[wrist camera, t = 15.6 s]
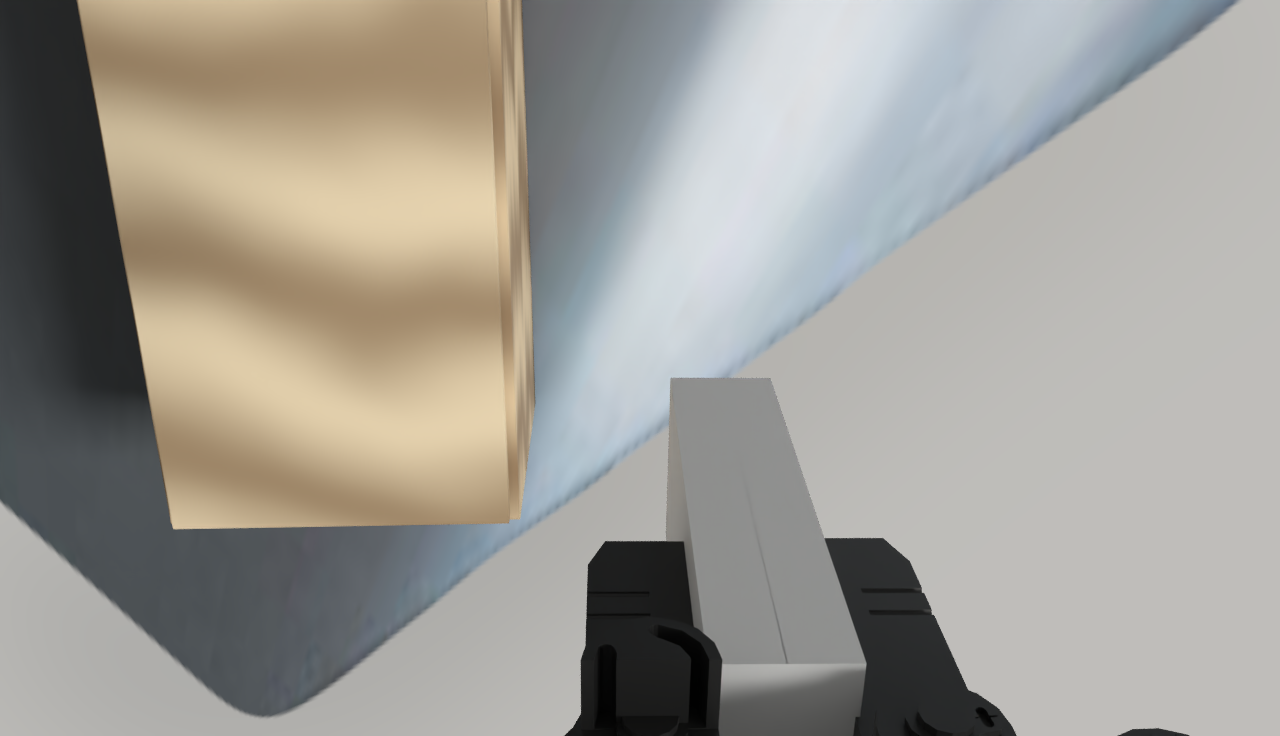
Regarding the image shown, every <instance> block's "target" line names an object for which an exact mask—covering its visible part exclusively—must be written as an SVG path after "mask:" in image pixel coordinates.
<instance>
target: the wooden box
mask: <svg viewBox="0 0 1280 736" xmlns="http://www.w3.org/2000/svg"><path fill="white" fill-rule="evenodd" d="M77 5H78V11H79V16H80V22H81V27H82V33H83V38H84V44H85V49H86V55H87V60H88V66H89V71H90V77H91V82H92V88H93V94H94V99H95V105H96V110H97V116H98V121H99V127H100V132H101V138H102V143H103V149H104V154H105V160H106V166H107V171H108V177H109V182H110V188H111V193H112V199H113V204H114V210H115V215H116V221H117V226H118V220H117V214H116V209H115V203H114V198H113V192H112V187H111V181H110V176H109V170H108V165H107V159H106V153H105V148H104V142H103V137H102V131H101V126H100V120H99V115H98V109H97V103H96V98H95V92H94V87H93V81H92V76H91V70H90V65H89V59H88V54H87V48H86V42H85V37H84V31H83V26H82V20H81V15H80V9H79V4H78V0H77ZM487 9H488V31H489V54H490V76H491V98H492V121H493V143H494V165H495V188H496V210H497V232H498V255H499V277H500V299H501V322H502V344H503V367H504V389H505V411H506V434H507V456H508V478H509V501H510V519H520V515H521V507H522V500H523V492H524V484H525V477H526V469H527V462H528V454H529V446H530V439H531V431H532V424H533V416H534V408H535V382H534V352H533V322H532V291H531V261H530V231H529V201H528V171H527V141H526V111H525V81H524V51H523V21H522V0H487ZM118 232H119V237H120V231H119V226H118ZM120 243H121V249H122V254H123V260H124V265H125V271H126V276H127V282H128V287H129V281H128V275H127V270H126V264H125V259H124V253H123V248H122V242H121V237H120ZM129 293H130V298H131V292H130V287H129ZM131 304H132V309H133V303H132V298H131ZM133 315H134V320H135V314H134V309H133ZM135 326H136V332H137V337H138V343H139V348H140V342H139V336H138V331H137V325H136V320H135ZM140 354H141V359H142V353H141V348H140ZM142 365H143V370H144V364H143V359H142ZM144 376H145V381H146V375H145V370H144ZM146 387H147V392H148V386H147V381H146ZM148 398H149V403H150V397H149V392H148ZM150 409H151V403H150ZM151 415H152V420H153V414H152V409H151ZM153 426H154V431H155V425H154V420H153ZM155 437H156V442H157V436H156V431H155ZM157 448H158V453H159V447H158V442H157ZM159 459H160V453H159ZM160 464H161V459H160ZM161 470H162V464H161ZM162 475H163V470H162ZM163 481H164V475H163ZM164 487H165V492H166V486H165V481H164ZM166 498H167V503H168V497H167V492H166ZM168 509H169V514H170V508H169V503H168ZM170 520H171V514H170ZM171 524H172V520H171Z"/></svg>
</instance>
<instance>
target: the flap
mask: <svg viewBox="0 0 1280 736" xmlns="http://www.w3.org/2000/svg"><path fill="white" fill-rule="evenodd" d="M78 4H79V9H80V15H81V20H82V26H83V31H84V37H85V42H86V48H87V54H88V59H89V65H90V70H91V76H92V81H93V87H94V92H95V98H96V103H97V109H98V115H99V120H100V126H101V131H102V137H103V142H104V148H105V153H106V159H107V165H108V170H109V176H110V181H111V187H112V192H113V198H114V203H115V209H116V214H117V220H118V226H119V231H120V237H121V242H122V248H123V253H124V259H125V264H126V270H127V275H128V281H129V287H130V292H131V298H132V303H133V309H134V314H135V320H136V325H137V331H138V336H139V342H140V348H141V353H142V359H143V364H144V370H145V375H146V381H147V386H148V392H149V397H150V403H151V409H152V414H153V420H154V425H155V431H156V436H157V442H158V447H159V453H160V459H161V464H162V470H163V475H164V481H165V486H166V492H167V497H168V503H169V508H170V514H171V520H172V525H173V529H210V528H267V527H324V526H381V525H438V524H495V523H509V519H510V501H509V478H508V456H507V434H506V411H505V389H504V367H503V344H502V322H501V299H500V277H499V255H498V232H497V210H496V188H495V165H494V143H493V121H492V98H491V76H490V54H489V31H488V9H487V0H78Z"/></svg>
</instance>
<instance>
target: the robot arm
mask: <svg viewBox="0 0 1280 736" xmlns="http://www.w3.org/2000/svg"><path fill="white" fill-rule="evenodd" d="M666 540H667V541H624V542H623V541H621V542H620V541H605V543H604V544H603V545H602V546H601V548H600V549H599V551H598V552H597V553H596V555H595V556H594V557H593V559H592V560H591V561H590V563H589V564H588V582H587V583H588V584H587V619H586V646H585V650H584V652H583V655H582V658H581V715H580V716H579V718H578V720H577V721H576V723H575V725H574V727H573V728H572V729H571V730H570V731H569V732H568V733H567V734H566V735H565V736H1016V734H1015V732H1014V729H1013V727H1012V726H1011V724H1010V723H1009V722H1008V720H1007V719H1006V718H1005V716H1004V715H1003V714H1002V713H1001V711H1000V710H999V709H998V708H997V707H996V706H994V705H993V704H991V703H990V702H989V701H987V700H986V699H984V698H982V697H981V696H979V695H978V694H977V693H974V692H971V691H969V690H968V689H967V687H966V684H965V682H964V680H963V678H962V676H961V674H960V671H959V669H958V667H957V665H956V662H955V660H954V658H953V656H952V654H951V651H950V649H949V647H948V645H947V643H946V640H945V638H944V636H943V634H942V632H941V629H940V627H939V625H938V623H937V620H936V618H935V616H934V615H932V613H931V607H930V605H929V603H928V601H927V598H926V596H925V594H924V593H922V588H921V585H920V583H919V581H918V579H917V577H916V574H915V572H914V570H913V568H912V566H911V563H910V561H909V560H908V559H906V558H905V557H904V556H903V555H902V554H900V553H899V552H898V551H897V550H896V549H895V548H893V547H892V546H891V545H890V544H889V543H888V542H887V541H886V540H884V539H883V538H824V536H823V533H822V530H821V527H820V524H819V521H818V518H817V515H816V512H815V509H814V506H813V503H812V500H811V498H810V494H809V491H808V489H807V486H806V483H805V480H804V477H803V474H802V471H801V468H800V465H799V462H798V459H797V456H796V453H795V450H794V447H793V444H792V441H791V438H790V435H789V432H788V429H787V426H786V423H785V420H784V417H783V414H782V411H781V409H780V405H779V402H778V400H777V396H776V394H775V391H774V388H773V385H772V382H771V379H770V378H671V382H670V416H669V449H668V483H667V516H666ZM1118 736H1189V735H1186V734H1182V733H1177V732H1173V731H1168V730H1163V729H1159V728H1156V729H1132V730H1130V731H1128V732H1126V733H1123V734H1121V735H1118Z"/></svg>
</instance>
